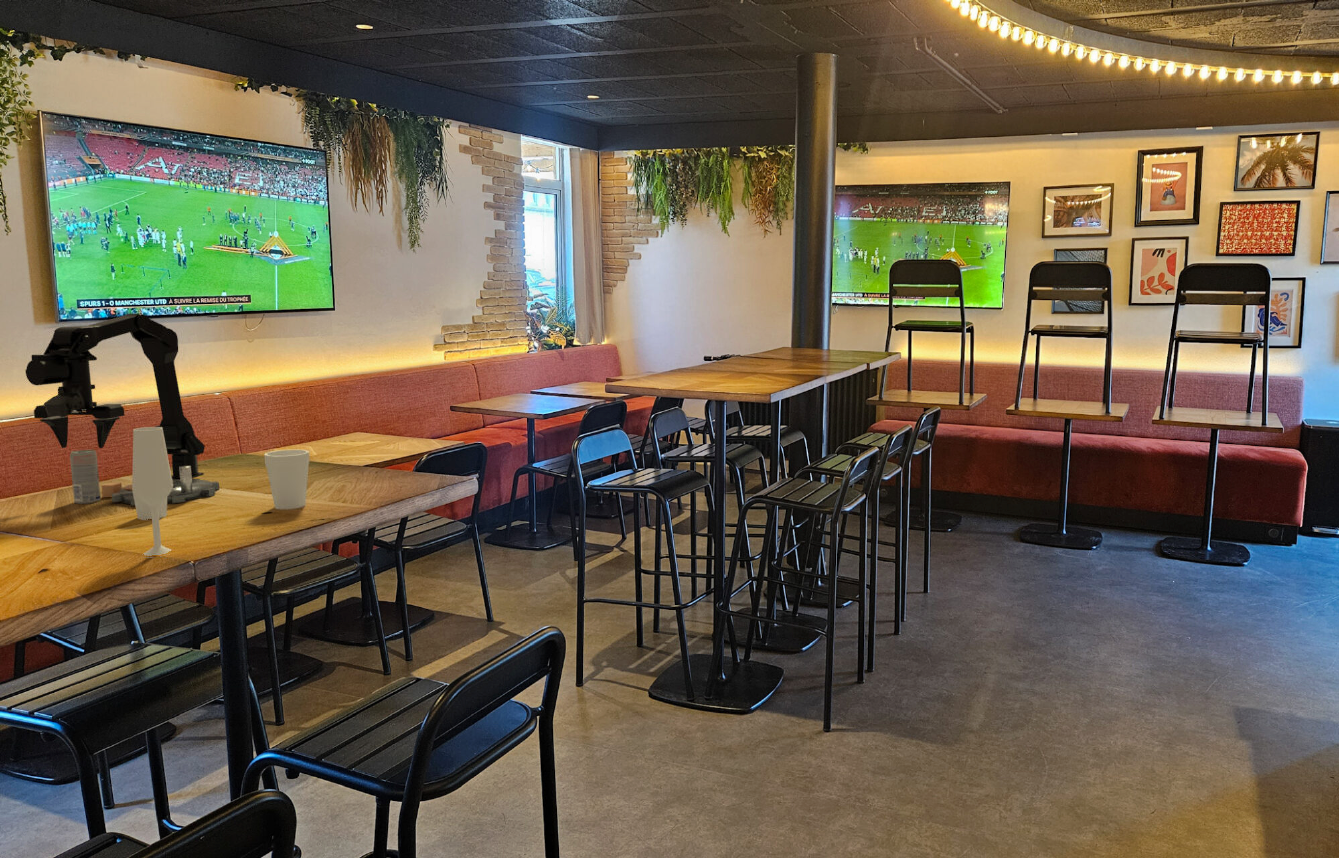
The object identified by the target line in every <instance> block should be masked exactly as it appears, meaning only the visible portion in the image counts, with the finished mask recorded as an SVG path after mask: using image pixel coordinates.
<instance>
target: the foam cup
mask: <svg viewBox="0 0 1339 858" xmlns="http://www.w3.org/2000/svg"><path fill="white" fill-rule="evenodd" d="M309 464H310V451H309V450H306V449H297V448H296V449H280V450H279V449H278V450H273V451H268V452H265V453H264V466H266V471H267V472H266V473H267V476H268V480H269V486H270V490H271V497H272V500H273V505H274V509H277V510H284V509H285V510H295V509H300V508H304V507H305V506H306V502H307V501H306V500H307V490H308V479H309V478H308V475H309Z"/></svg>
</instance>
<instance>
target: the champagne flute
mask: <svg viewBox="0 0 1339 858" xmlns="http://www.w3.org/2000/svg"><path fill="white" fill-rule="evenodd" d="M132 430H133V431H132V435H133V436H132V440H133V441H132V474H131V475H132V477H131V478H132V479H131V480H132V481H131V482H132V483H131V485H132V490H133V492H134V494H135V495H136V496H137V497H138V498H139V499H141V500H142V501H144V502H145V503H146V504H149V505H151V513H152V520H151V521H152V523H151V524H152V534H153V535H152V536H153V546H152V547H151V548H150V549H149V550H146V551H145V552H144V553H143V554H144V555H145V556H146V555H147V556H152V555H161V554H166V553H168V552H169V551H171V550H172V549H170V548H168V547H167V546H164V545H162V540H161V538H162V537H161V527H160V524H161V523H160V518H159V512H158V504H160V503H161V502H162V501H163V500H164V499H165V498H166V497H167V496H168V495H169V494H170V492H171V491H172V488H173V482H172V480H173V478H172V476H171V475H172V472H171V465H170V462H169V461H170V460H169V457H168V455H169V454H167V450H166V444H165V439H164V434H163V428H162V427H155V426H147V427H146V426H145V427H138V428H133V429H132Z"/></svg>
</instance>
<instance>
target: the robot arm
mask: <svg viewBox="0 0 1339 858" xmlns="http://www.w3.org/2000/svg"><path fill="white" fill-rule="evenodd" d="M128 333H130V336H131V337H132V338H133V339H134V340H136V341H137V342H138V343H139V344H140V346H141V349H142V353H143V354H144V356H145V357H146V358H147V359H148V360H149V361H150V363H151V365H152V369H153V373H154V378H155V379H154V381H155V385H156V390H157V395H158V401H159V406H160V407H159V408H160V412H161V417H162V419H161V421H160V423H159V425H155V426H154V427H162V428H163V434H164V439H165V444H166V450H167V455H171V467H172V468H171V470H172V474H171V476H172V479H176V478H180V470H179V467H181V466H191V476H192V479H194V478H196V477H200V476H203V475H204V472H199V466H198V465H199V463H198V455H199V456H200V455H202V454H204V453H205V447H206V446H205V444H204V443H203V441H201V440H200V439H199V438H198V437H197V436H196V435H195V431H194V428H193V424H192V423H191V422H190V421H189V420H188V418H187V417H186V415H184V411H183V405H182V399H181V394H180V389H179V388H180V387H179V383H178V382H179V381H178V376H177V372H176V371H177V370H176V366H175V359H176V357H177V355H178V353H179V337H178V335H177V331H174V330H173V329H171V328H168V327H167V326H166V325H164V324H162V323H159V322H157V321H155V320H153V319H151V318H149V317H148V316H146V314H143V313H126V314H124V315H120V316H118V317H114V318H112V319H107V320H103V321H100V322H97V323H93V324H88V325H76V326H75V325H73V326H61V327H58V328H56V329H55V330H54V333H53V335H52V337H51V340H50V342H49V343H48V345H47V346H46V349H45V351H44V353H43V354H32V355H30V356H31V360H30V361H29V362H28V363H27V366H26V369H25V370H24V371H25V376H26V379H27V380H28V382H29V383H30V384H32V385H33V386H44V385H53V384H55V385H56V384H61V386H58V387H57V388H58V389H57V395H54V396H52V397H51V398H50V399H49V398H48V400H46V401H45V402H43V404H41V405H40V404H39V405H36V406H35V407H34V410H33V418H34V419H39V422H41V423H45V424H46V425H48V426H49V427H50V429H51V430H52V431H53V433H54V436H55V437H56V439H57V441H58V444H59V445H60V446H61V447H60V448H62V449H64V448H67V447H68V440H69V439H68V437H69V435H68V433H69V431H68V430H69V416H92V417H94V418H95V419H93V420H92V423H93V424H94V425H95V428H96V437H97V445H98V448H99V449H102V448H103V449H104V447H105V444H106V442H107V439H108V437H109V435H110V432H111V430H112V429H113V426H115V423H116V421H117V420H120V417H123V416H125V408H124V406H123V405H121V403H106V404H100V405H99V404H98V403H97V401H94V400H93V392H92V391H93V390H96V384H92V379H91V370H90V369H91V367H90V362H93V361H97V360H98V357H96V355H94V354H92V353H91V352H90V350H92V349H94V348H95V347H97V346H98V344H100V343H101V342H102V341H105V340H108V339H112V338H115V337H119V336H121V335H125V334H126V335H127V334H128ZM97 404H98V405H97ZM199 475H200V476H199ZM193 477H194V478H193Z"/></svg>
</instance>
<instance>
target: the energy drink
mask: <svg viewBox="0 0 1339 858" xmlns="http://www.w3.org/2000/svg"><path fill="white" fill-rule="evenodd" d="M69 460H70V471H71V480H72V481H71V482H72V490H73V491H72V492H73V493H72V494H73V502H74V503H75V504H79V505H86V504H94V503H97V502H100V500H101V499H102V497H101V490H100V489H101V487H100V479H99V478H100V477H99V467H98V454H97V452H96V450H95V449H82V450H81V449H80V450H74V451H73V450H72V451H70V455H69Z"/></svg>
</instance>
